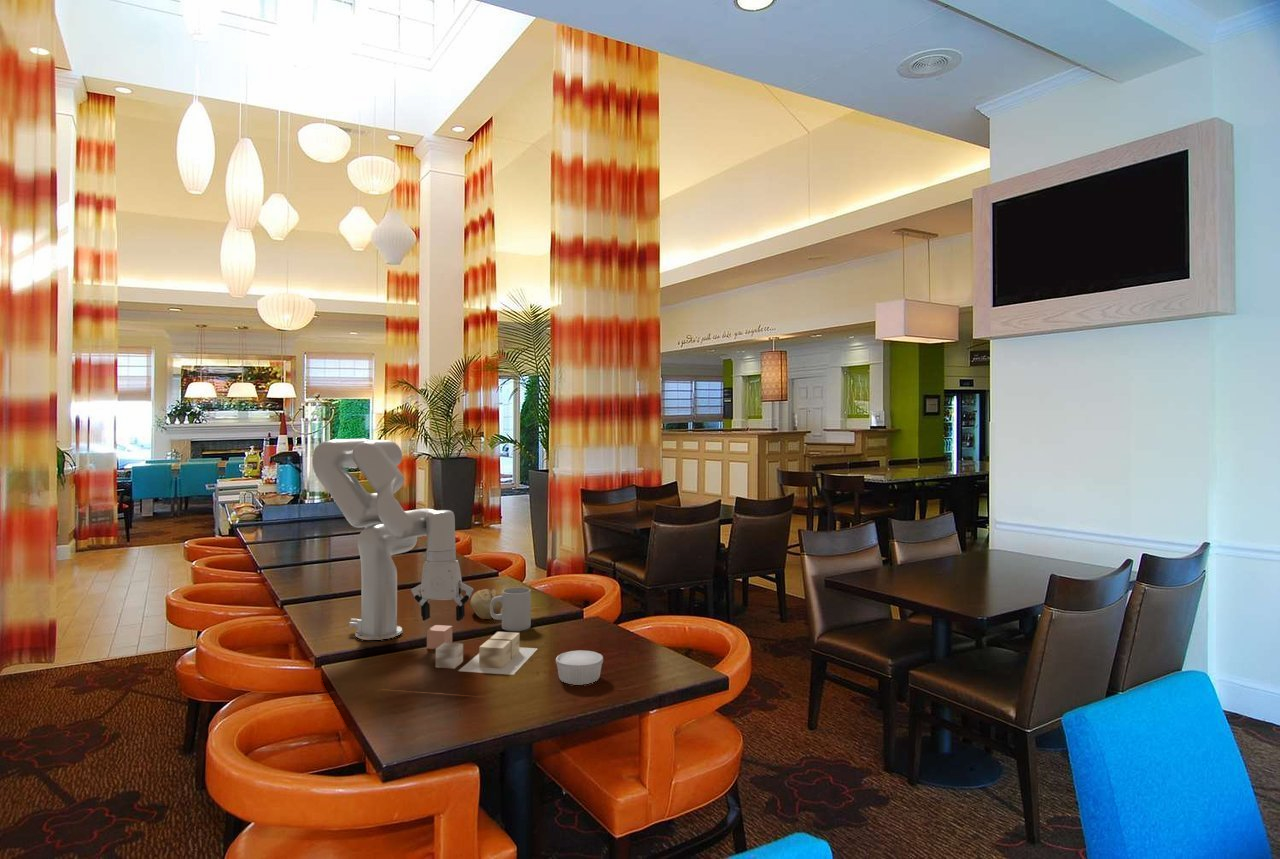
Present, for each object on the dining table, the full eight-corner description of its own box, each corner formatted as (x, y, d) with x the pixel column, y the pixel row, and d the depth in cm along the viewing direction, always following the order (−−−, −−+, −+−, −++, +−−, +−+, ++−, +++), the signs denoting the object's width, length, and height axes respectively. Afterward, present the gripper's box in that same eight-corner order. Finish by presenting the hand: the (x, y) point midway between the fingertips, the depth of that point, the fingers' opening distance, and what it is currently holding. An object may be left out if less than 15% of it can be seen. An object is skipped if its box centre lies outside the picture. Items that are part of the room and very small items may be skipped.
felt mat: (458, 672, 171) (458, 670, 171) (488, 646, 191) (488, 645, 191) (513, 675, 169) (513, 674, 169) (537, 649, 188) (537, 648, 188)
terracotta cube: (426, 648, 188) (427, 630, 188) (435, 643, 193) (435, 624, 193) (444, 649, 188) (444, 631, 188) (452, 644, 193) (452, 625, 193)
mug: (529, 622, 214) (529, 586, 214) (531, 630, 206) (532, 593, 206) (489, 624, 211) (489, 588, 211) (490, 633, 203) (490, 595, 203)
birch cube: (435, 668, 173) (435, 648, 173) (444, 662, 178) (444, 642, 178) (454, 670, 173) (454, 649, 172) (462, 663, 177) (463, 643, 177)
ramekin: (550, 674, 170) (550, 653, 170) (593, 668, 175) (593, 647, 175) (563, 691, 160) (563, 668, 160) (609, 684, 164) (609, 661, 164)
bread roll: (495, 607, 231) (495, 583, 231) (507, 619, 217) (507, 593, 217) (466, 610, 227) (466, 586, 227) (475, 622, 213) (476, 596, 213)
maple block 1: (479, 667, 174) (479, 646, 174) (488, 659, 180) (488, 639, 180) (502, 668, 173) (502, 648, 173) (510, 660, 179) (510, 640, 179)
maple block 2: (489, 657, 181) (489, 638, 181) (497, 650, 187) (497, 631, 186) (511, 659, 180) (512, 639, 180) (519, 651, 186) (519, 632, 186)
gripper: (404, 558, 188) (406, 622, 188) (466, 558, 185) (468, 623, 185) (417, 554, 195) (419, 615, 195) (477, 553, 193) (478, 616, 192)
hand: (443, 619), depth 190 cm, fingers open, 9 cm apart
